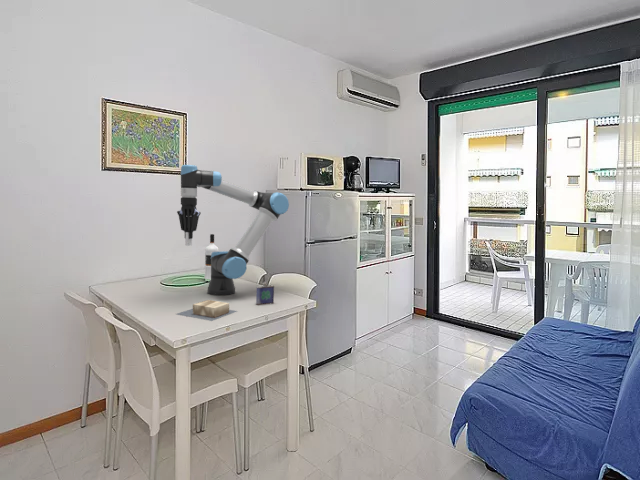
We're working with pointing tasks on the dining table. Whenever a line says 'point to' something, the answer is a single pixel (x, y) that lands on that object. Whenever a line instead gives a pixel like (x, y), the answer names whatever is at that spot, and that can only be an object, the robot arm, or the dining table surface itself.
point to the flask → (265, 294)
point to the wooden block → (211, 308)
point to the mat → (190, 314)
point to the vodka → (209, 256)
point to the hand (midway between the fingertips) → (188, 245)
